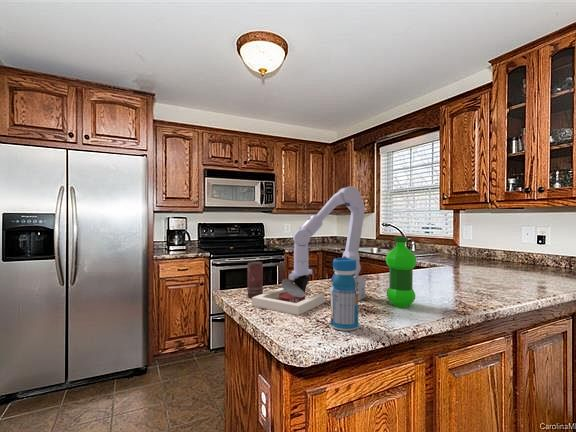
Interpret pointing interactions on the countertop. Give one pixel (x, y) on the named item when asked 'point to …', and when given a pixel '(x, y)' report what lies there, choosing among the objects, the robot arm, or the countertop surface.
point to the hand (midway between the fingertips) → (301, 295)
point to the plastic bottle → (400, 274)
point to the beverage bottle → (344, 295)
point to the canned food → (291, 292)
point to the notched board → (298, 308)
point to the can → (255, 278)
